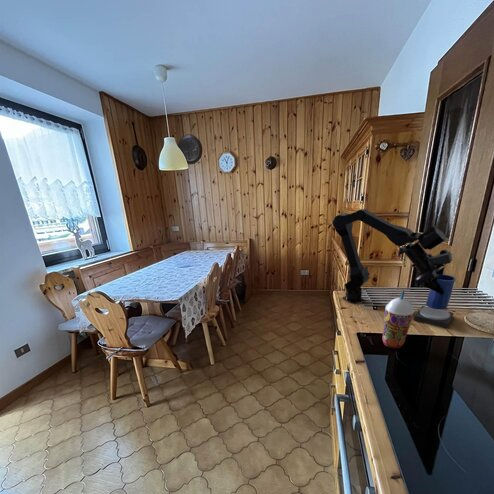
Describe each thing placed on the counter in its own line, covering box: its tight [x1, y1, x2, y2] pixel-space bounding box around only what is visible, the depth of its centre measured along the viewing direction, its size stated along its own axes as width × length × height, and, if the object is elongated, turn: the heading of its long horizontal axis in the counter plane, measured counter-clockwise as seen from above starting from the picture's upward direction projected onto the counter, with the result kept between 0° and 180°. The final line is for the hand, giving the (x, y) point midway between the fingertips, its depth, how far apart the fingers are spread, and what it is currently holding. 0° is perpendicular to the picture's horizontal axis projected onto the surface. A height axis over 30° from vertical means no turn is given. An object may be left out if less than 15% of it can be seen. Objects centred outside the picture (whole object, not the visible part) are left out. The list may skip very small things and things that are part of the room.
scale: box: [413, 305, 455, 329], centre depth 111 cm, size 11×11×3 cm
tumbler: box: [425, 274, 457, 310], centre depth 106 cm, size 7×7×12 cm
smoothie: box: [381, 289, 415, 349], centre depth 93 cm, size 8×8×20 cm
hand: (445, 290), depth 105 cm, fingers closed on tumbler, 7 cm apart
